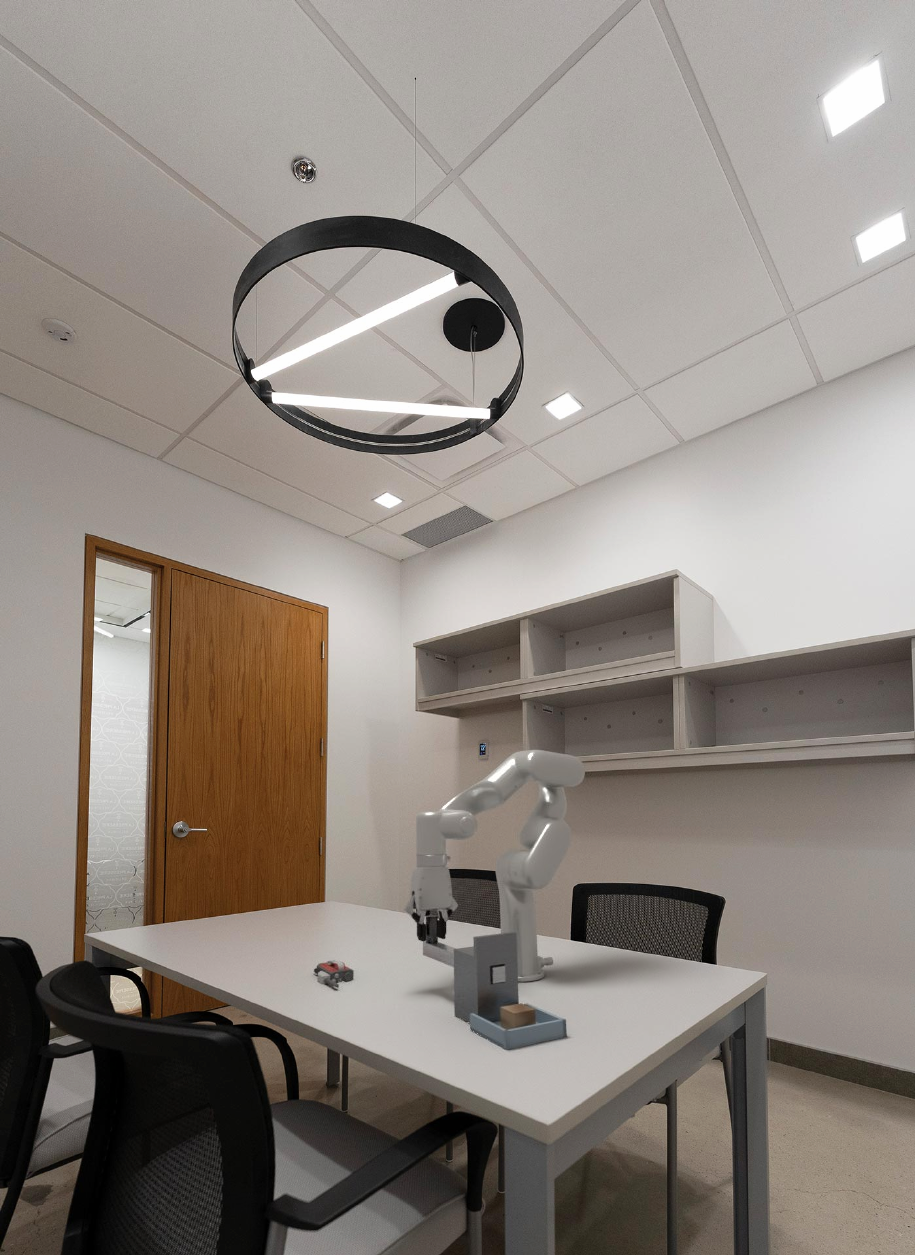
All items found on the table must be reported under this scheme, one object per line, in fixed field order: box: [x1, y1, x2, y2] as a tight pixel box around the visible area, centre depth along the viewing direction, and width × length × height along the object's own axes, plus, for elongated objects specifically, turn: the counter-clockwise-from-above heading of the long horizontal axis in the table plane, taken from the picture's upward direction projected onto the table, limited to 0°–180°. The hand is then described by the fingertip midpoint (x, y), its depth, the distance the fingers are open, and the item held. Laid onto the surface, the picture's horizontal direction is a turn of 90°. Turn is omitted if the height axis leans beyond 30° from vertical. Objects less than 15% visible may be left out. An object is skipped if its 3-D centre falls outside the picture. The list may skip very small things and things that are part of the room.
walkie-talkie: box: [313, 959, 355, 989], centre depth 185 cm, size 9×4×20 cm
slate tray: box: [469, 1003, 568, 1050], centre depth 141 cm, size 14×13×3 cm
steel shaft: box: [422, 915, 505, 984], centre depth 163 cm, size 3×33×9 cm, turn 29°
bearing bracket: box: [453, 932, 520, 1024], centre depth 152 cm, size 10×10×17 cm
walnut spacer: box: [500, 1002, 536, 1030], centre depth 141 cm, size 5×5×4 cm
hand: (431, 938), depth 175 cm, fingers open, 4 cm apart
